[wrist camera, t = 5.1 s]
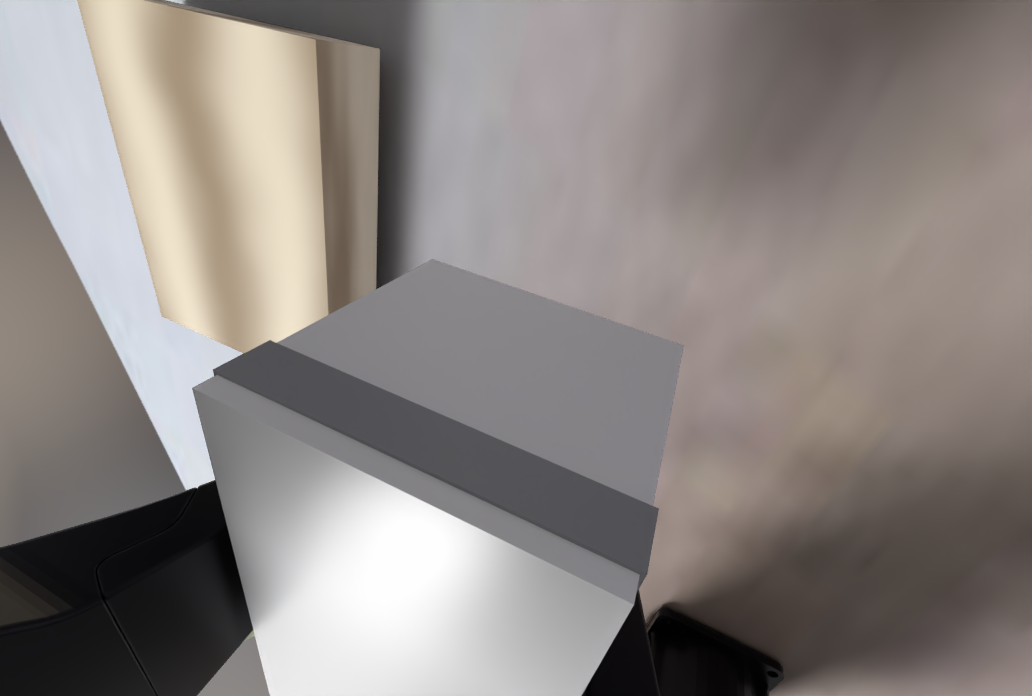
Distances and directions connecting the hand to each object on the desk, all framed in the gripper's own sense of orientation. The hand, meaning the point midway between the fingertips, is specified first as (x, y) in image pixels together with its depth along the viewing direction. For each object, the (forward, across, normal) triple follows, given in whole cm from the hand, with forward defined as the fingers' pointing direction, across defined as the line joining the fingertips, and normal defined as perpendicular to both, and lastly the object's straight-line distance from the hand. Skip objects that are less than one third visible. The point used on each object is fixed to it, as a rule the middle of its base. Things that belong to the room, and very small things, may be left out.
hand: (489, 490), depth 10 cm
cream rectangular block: (+11, +16, 0) cm, 19 cm away
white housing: (+1, 0, 0) cm, 1 cm away
